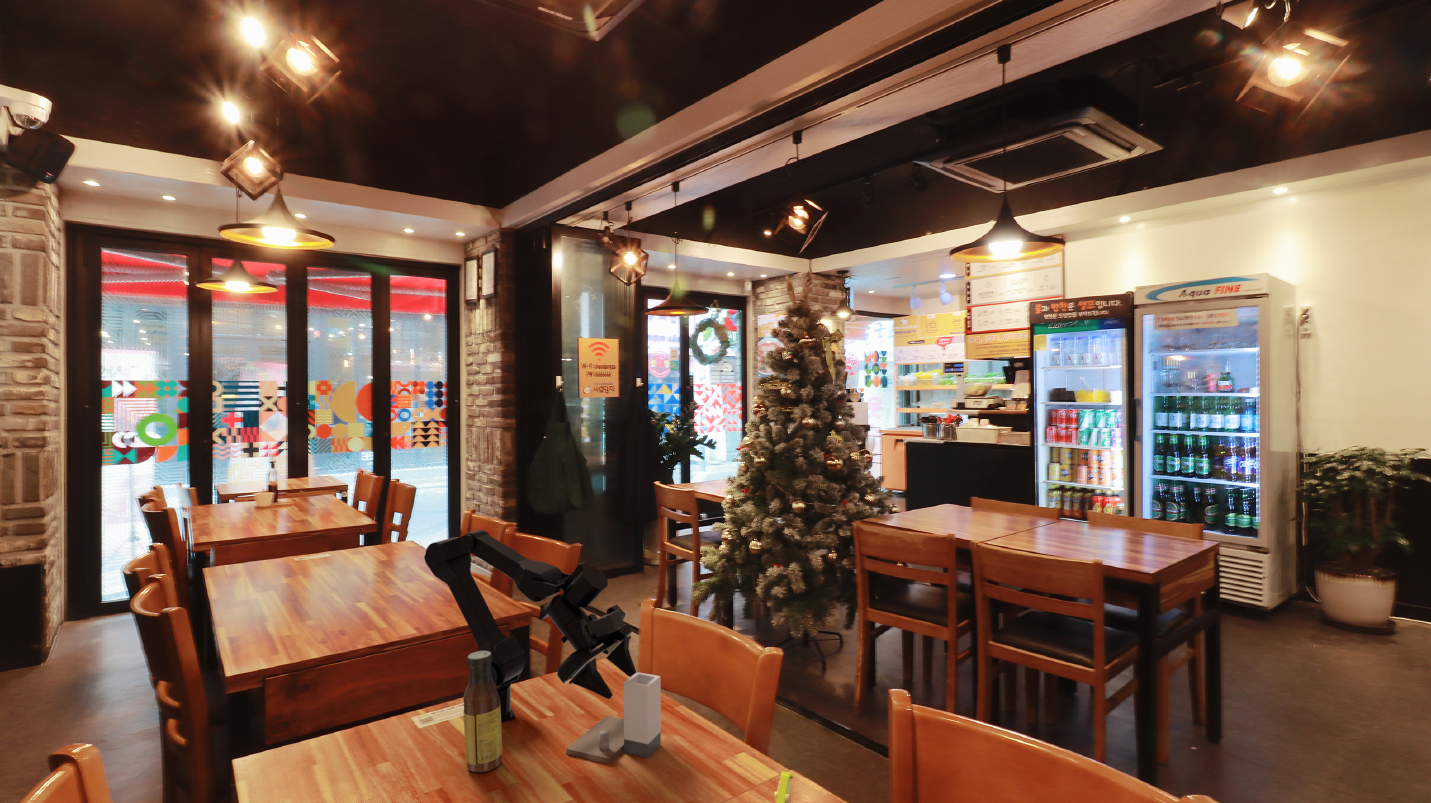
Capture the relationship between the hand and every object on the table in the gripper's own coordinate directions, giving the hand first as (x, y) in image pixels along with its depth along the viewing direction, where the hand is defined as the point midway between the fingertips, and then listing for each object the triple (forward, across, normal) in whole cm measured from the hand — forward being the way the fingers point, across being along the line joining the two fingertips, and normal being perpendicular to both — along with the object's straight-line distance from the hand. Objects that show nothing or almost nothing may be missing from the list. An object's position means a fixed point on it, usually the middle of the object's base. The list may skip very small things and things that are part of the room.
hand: (623, 687), depth 130 cm
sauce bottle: (-6, -16, +22) cm, 27 cm away
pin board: (+5, 0, +10) cm, 11 cm away
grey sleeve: (+10, 0, +5) cm, 11 cm away
